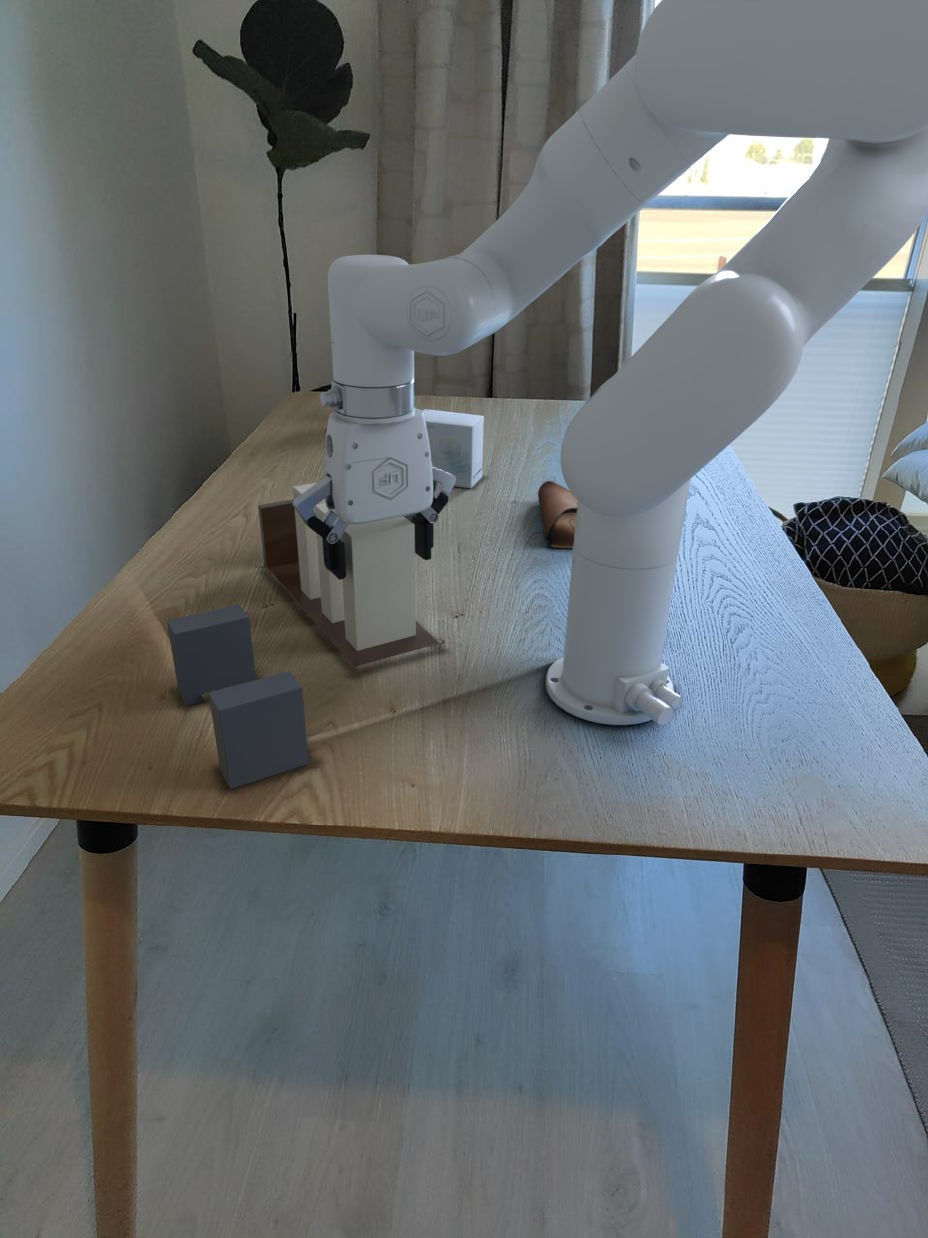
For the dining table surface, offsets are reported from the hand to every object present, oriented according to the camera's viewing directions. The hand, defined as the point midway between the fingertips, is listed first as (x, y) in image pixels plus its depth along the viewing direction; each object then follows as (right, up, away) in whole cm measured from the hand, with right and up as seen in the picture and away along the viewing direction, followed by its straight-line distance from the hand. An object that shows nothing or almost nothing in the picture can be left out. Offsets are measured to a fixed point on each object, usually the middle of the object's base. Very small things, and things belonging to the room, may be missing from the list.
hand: (380, 564), depth 88 cm
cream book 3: (0, -8, +4) cm, 9 cm away
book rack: (-5, -4, +12) cm, 14 cm away
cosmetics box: (+6, +17, +53) cm, 56 cm away
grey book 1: (-16, -13, -4) cm, 21 cm away
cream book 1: (-7, -2, +14) cm, 16 cm away
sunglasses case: (+24, +8, +37) cm, 44 cm away
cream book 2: (-4, -5, +9) cm, 11 cm away
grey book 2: (-9, -18, -14) cm, 25 cm away
